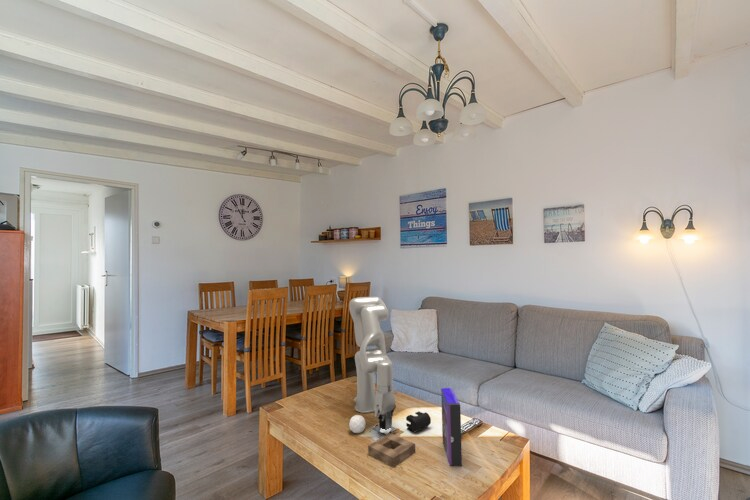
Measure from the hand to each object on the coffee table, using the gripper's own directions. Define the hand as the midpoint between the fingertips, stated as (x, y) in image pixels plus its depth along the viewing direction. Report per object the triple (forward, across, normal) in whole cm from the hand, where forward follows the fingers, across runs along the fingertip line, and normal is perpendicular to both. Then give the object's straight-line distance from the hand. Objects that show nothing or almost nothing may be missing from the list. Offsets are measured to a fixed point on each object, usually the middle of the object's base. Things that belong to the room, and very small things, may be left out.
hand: (385, 425), depth 169 cm
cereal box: (+3, -5, +32) cm, 33 cm away
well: (+3, +11, +14) cm, 18 cm away
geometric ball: (+3, +8, -10) cm, 14 cm away
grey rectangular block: (+3, 0, 0) cm, 3 cm away
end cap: (+3, -13, +10) cm, 16 cm away
